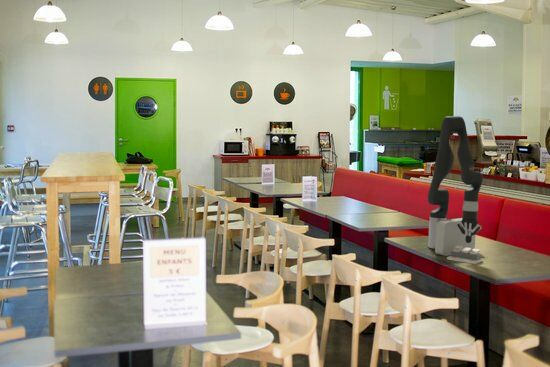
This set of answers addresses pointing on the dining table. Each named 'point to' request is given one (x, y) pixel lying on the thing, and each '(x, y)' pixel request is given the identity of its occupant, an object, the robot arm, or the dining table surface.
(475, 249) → the rocker
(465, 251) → the rocker
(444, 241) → the rounded white slab
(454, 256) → the switch unit
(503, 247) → the dining table surface
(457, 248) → the rocker
